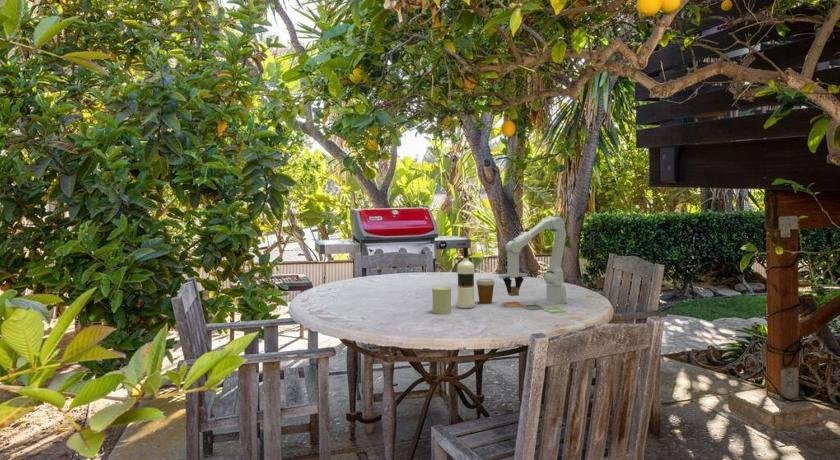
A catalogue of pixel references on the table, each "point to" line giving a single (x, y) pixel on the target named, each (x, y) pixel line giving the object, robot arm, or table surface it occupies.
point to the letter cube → (514, 291)
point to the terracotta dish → (512, 304)
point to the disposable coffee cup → (485, 290)
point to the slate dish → (533, 307)
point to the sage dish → (554, 310)
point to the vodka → (465, 282)
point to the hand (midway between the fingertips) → (513, 292)
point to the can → (441, 300)
